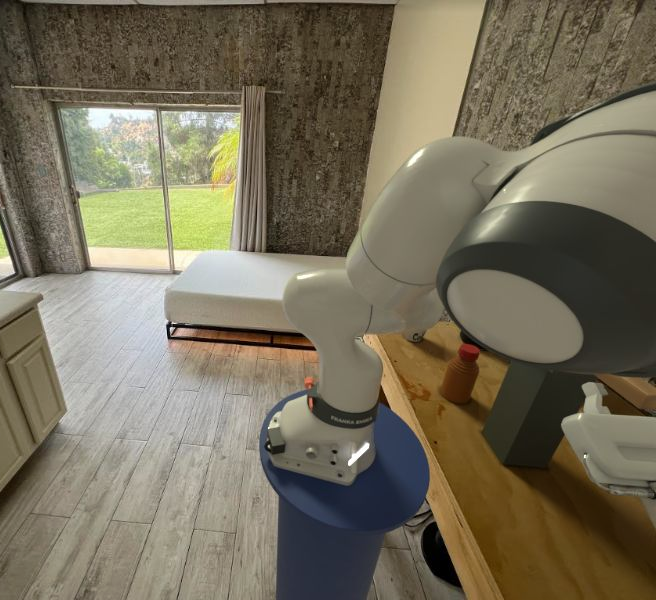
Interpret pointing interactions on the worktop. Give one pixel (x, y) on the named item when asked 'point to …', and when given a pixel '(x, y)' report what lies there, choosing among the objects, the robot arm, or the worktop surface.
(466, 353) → the cap
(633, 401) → the mallet
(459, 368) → the bottle
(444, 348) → the worktop surface
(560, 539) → the worktop surface
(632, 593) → the worktop surface
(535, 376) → the stand
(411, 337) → the cup
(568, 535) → the worktop surface
